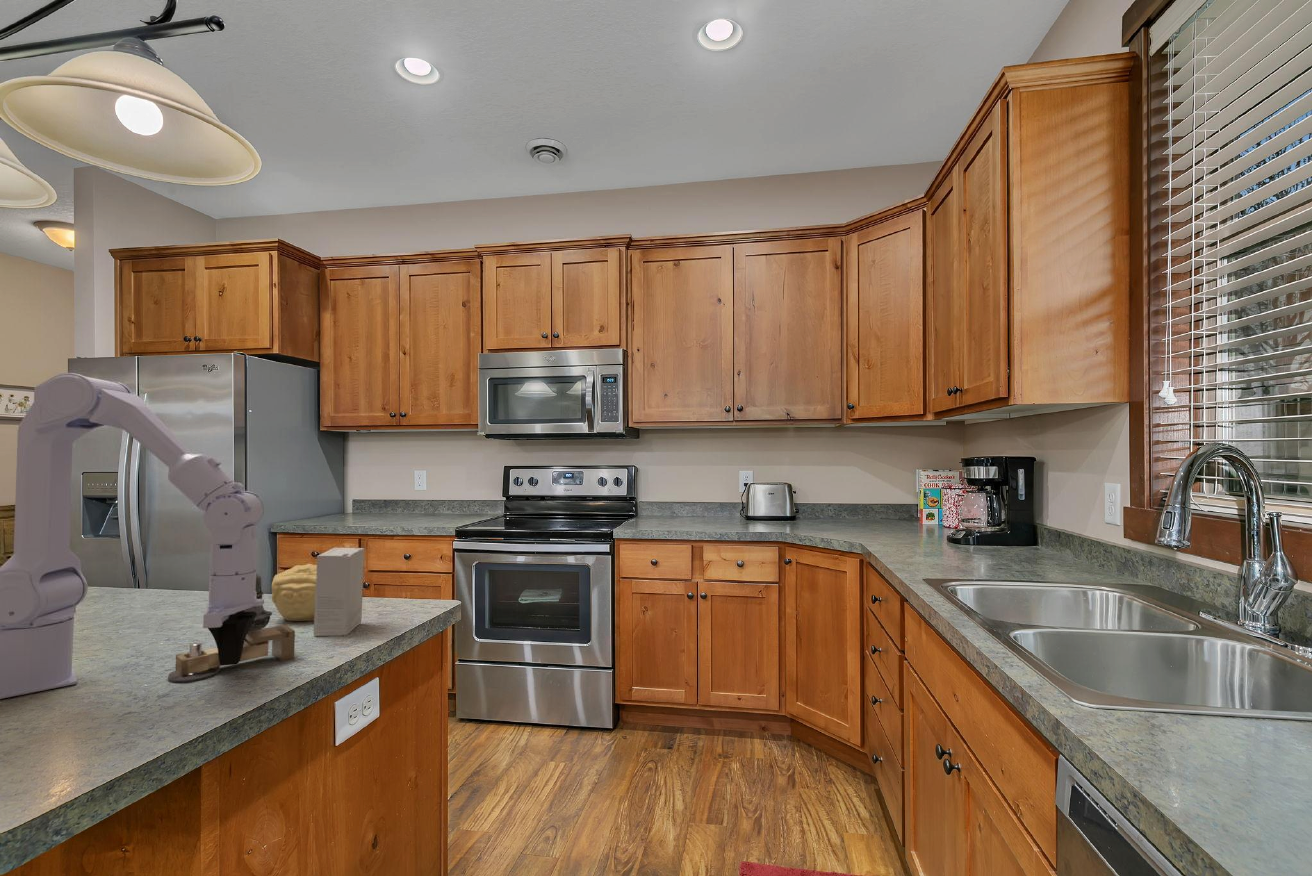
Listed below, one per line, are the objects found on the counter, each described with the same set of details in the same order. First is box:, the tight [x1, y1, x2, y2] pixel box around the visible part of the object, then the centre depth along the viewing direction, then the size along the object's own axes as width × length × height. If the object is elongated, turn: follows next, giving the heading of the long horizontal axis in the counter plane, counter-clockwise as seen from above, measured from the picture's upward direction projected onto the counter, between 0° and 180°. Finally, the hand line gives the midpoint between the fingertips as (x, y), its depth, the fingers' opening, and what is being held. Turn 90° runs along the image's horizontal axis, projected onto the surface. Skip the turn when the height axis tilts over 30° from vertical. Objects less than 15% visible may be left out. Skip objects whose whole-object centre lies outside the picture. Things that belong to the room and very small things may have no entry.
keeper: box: [245, 624, 296, 662], centre depth 94 cm, size 6×5×4 cm
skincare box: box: [313, 547, 365, 637], centre depth 110 cm, size 8×6×15 cm
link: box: [175, 640, 270, 675], centre depth 89 cm, size 11×4×2 cm, turn 140°
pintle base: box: [167, 642, 221, 684], centre depth 87 cm, size 6×6×4 cm
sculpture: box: [271, 563, 317, 622], centre depth 118 cm, size 11×12×11 cm
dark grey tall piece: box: [244, 573, 273, 642], centre depth 105 cm, size 6×6×12 cm
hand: (230, 663), depth 88 cm, fingers closed, pressing on link
